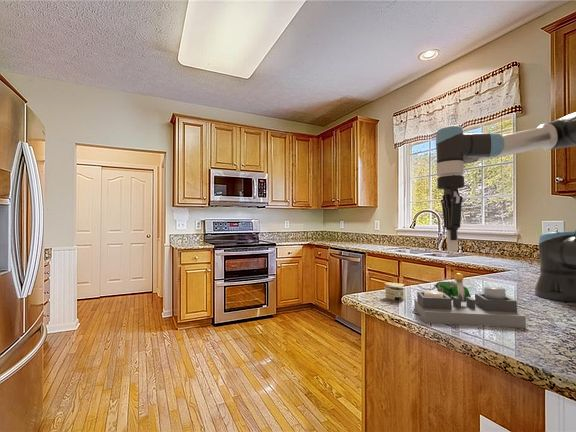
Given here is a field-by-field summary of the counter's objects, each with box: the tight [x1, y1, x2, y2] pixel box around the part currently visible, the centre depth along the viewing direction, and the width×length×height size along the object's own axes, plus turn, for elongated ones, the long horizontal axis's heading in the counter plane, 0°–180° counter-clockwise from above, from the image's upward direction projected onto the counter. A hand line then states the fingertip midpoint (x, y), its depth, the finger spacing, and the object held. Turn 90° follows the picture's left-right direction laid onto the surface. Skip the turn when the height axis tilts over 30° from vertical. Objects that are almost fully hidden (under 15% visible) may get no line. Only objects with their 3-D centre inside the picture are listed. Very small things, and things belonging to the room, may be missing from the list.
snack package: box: [433, 281, 472, 300], centre depth 108 cm, size 7×16×5 cm, turn 174°
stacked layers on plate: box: [383, 281, 406, 301], centre depth 107 cm, size 10×9×6 cm
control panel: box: [413, 291, 527, 329], centre depth 86 cm, size 24×14×6 cm, turn 78°
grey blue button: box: [483, 285, 507, 300], centre depth 84 cm, size 5×5×3 cm
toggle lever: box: [453, 272, 466, 302], centre depth 88 cm, size 3×3×8 cm
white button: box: [423, 290, 443, 298], centre depth 87 cm, size 5×5×3 cm
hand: (452, 250), depth 94 cm, fingers closed
